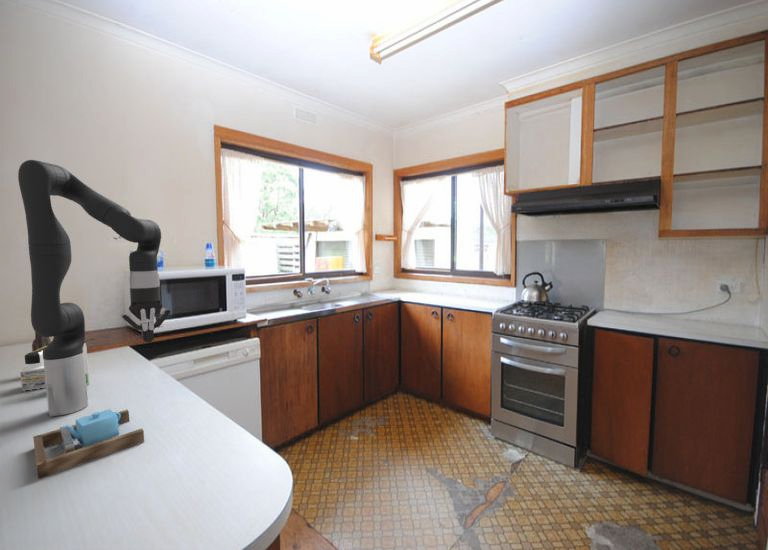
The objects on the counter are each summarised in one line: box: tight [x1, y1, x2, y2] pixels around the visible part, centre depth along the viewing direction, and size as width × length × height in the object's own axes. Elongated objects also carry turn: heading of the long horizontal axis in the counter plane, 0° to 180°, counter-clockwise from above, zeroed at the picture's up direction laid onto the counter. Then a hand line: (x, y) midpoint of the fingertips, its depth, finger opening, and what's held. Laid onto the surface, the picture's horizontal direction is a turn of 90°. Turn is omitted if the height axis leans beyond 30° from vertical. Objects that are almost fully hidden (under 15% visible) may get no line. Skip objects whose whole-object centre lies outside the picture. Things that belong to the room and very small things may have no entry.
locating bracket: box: [32, 409, 145, 480], centre depth 90 cm, size 20×18×3 cm
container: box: [19, 350, 46, 392], centre depth 132 cm, size 8×8×13 cm
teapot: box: [60, 408, 121, 448], centre depth 91 cm, size 12×6×8 cm, turn 143°
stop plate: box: [59, 424, 75, 454], centre depth 87 cm, size 2×13×4 cm, turn 46°
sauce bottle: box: [31, 331, 52, 352], centre depth 145 cm, size 7×6×20 cm
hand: (148, 342), depth 109 cm, fingers closed
